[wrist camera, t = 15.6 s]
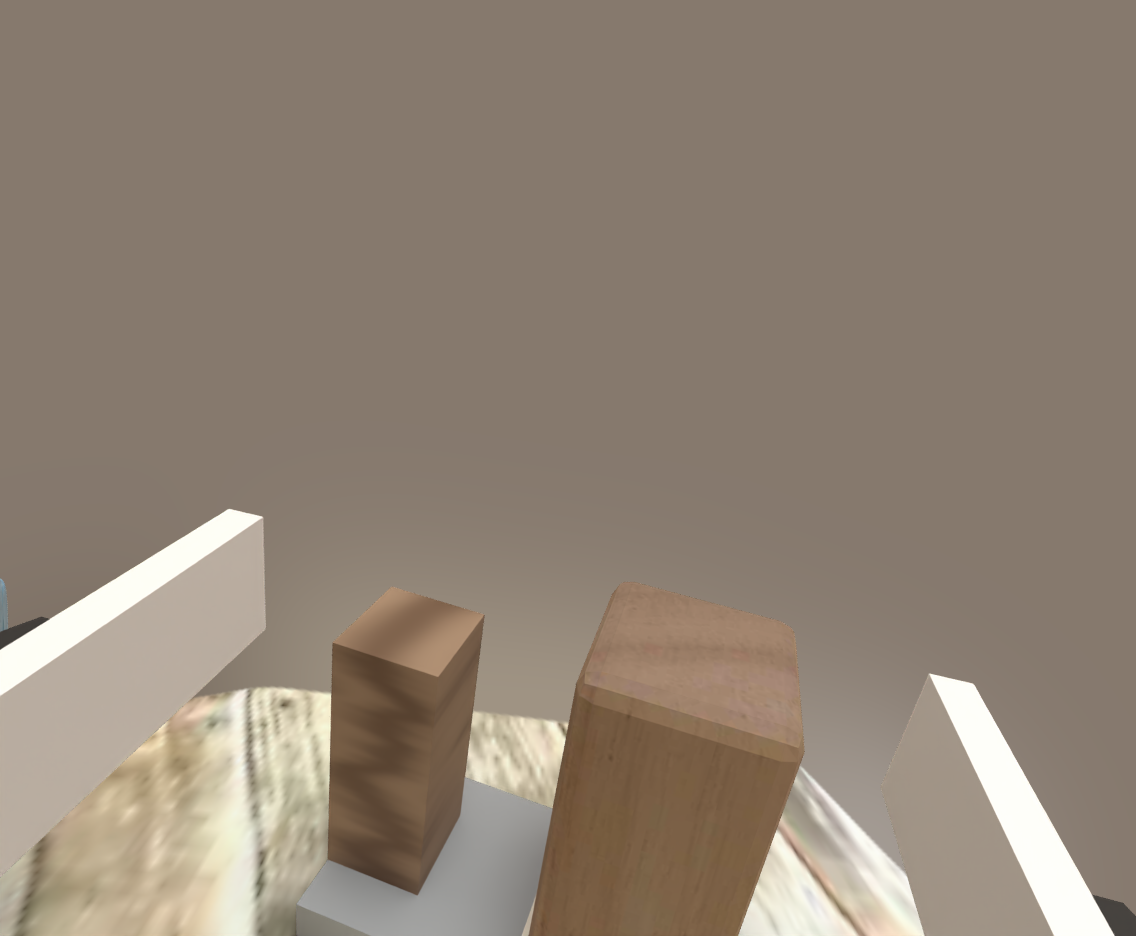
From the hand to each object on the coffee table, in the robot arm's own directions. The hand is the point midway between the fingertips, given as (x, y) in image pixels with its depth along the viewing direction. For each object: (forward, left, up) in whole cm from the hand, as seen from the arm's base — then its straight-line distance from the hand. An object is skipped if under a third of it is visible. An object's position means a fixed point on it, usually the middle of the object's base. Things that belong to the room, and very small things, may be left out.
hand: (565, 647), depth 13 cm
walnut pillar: (-12, +18, -31) cm, 38 cm away
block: (+3, +18, -31) cm, 36 cm away
